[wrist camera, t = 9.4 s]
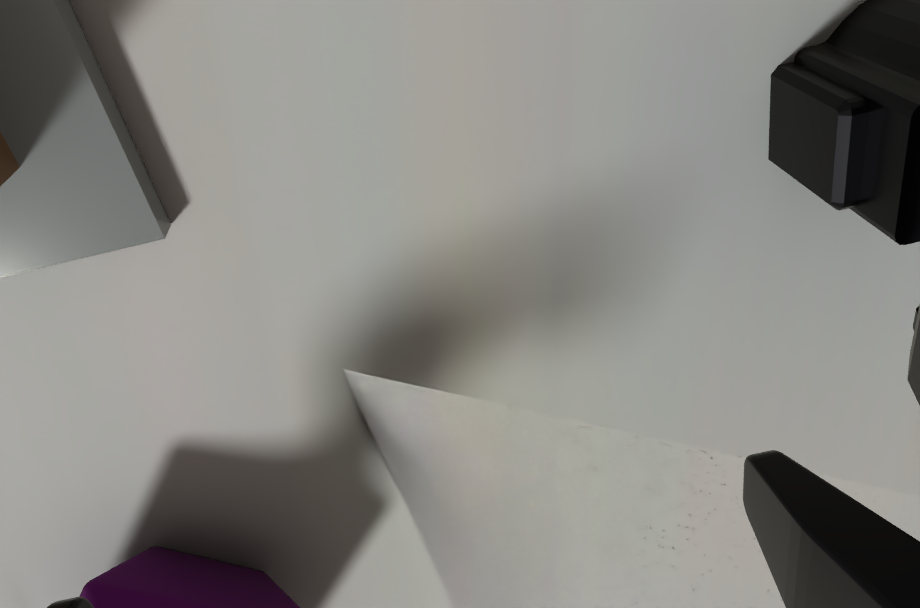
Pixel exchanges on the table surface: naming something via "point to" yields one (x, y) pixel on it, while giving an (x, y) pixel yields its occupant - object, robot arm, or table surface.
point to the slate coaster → (65, 147)
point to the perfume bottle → (183, 584)
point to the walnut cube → (6, 161)
